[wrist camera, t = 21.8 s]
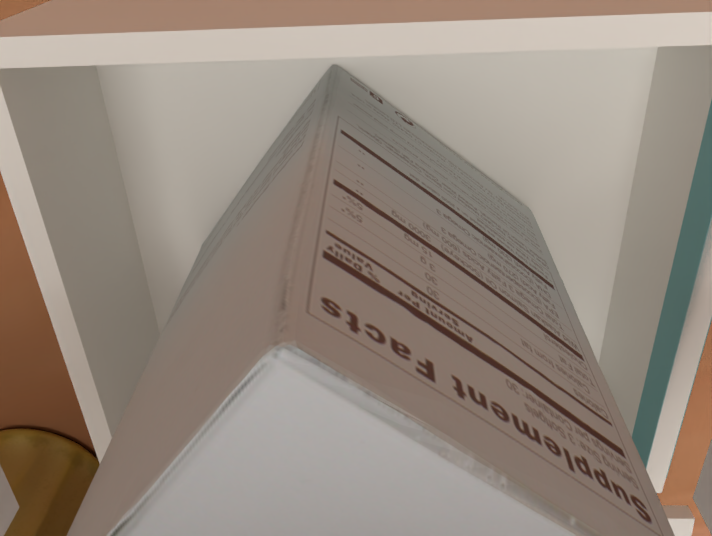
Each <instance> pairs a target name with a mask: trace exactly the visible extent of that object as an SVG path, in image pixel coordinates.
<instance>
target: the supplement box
mask: <svg viewBox="0 0 712 536" xmlns="http://www.w3.org/2000/svg"><path fill="white" fill-rule="evenodd" d="M67 536H675V535H674V533H673V530H672V528H671V526H670V523H669V521H668V519H667V516H666V514H665V512H664V509H663V507H662V505H661V503H660V500H659V498H658V496H657V494H656V491H655V489H654V487H653V484H652V482H651V480H650V477H649V475H648V473H647V471H646V468H645V466H644V464H643V461H642V459H641V457H640V455H639V453H638V451H637V448H636V446H635V444H634V442H633V440H632V437H631V435H630V433H629V431H628V428H627V426H626V424H625V422H624V419H623V417H622V415H621V413H620V411H619V408H618V406H617V404H616V402H615V400H614V397H613V395H612V393H611V391H610V388H609V386H608V384H607V382H606V379H605V377H604V375H603V373H602V371H601V369H600V367H599V365H598V362H597V360H596V357H595V355H594V353H593V350H592V348H591V345H590V343H589V341H588V338H587V336H586V334H585V332H584V330H583V328H582V325H581V323H580V321H579V318H578V316H577V314H576V311H575V309H574V306H573V304H572V302H571V299H570V297H569V295H568V293H567V290H566V288H565V286H564V283H563V280H562V279H561V277H560V275H559V272H558V270H557V268H556V265H555V263H554V261H553V258H552V256H551V254H550V251H549V249H548V247H547V244H546V242H545V240H544V237H543V235H542V233H541V230H540V228H539V226H538V224H537V221H536V219H535V217H534V215H533V213H532V211H531V210H530V209H529V208H528V207H527V206H525V205H524V204H522V203H521V202H519V201H518V200H517V199H515V198H514V197H513V196H511V195H510V194H509V193H507V192H506V191H504V190H503V189H502V188H500V187H499V186H498V185H496V184H495V183H494V182H492V181H491V180H490V179H488V178H487V177H486V176H484V175H483V174H482V173H480V172H479V171H478V170H476V169H475V168H474V167H472V166H471V165H470V164H468V163H467V162H466V161H464V160H463V159H462V158H460V157H459V156H458V155H456V154H455V153H454V152H452V151H451V150H450V149H449V148H447V147H446V146H445V145H443V144H442V143H440V142H439V141H438V140H436V139H435V138H434V137H433V136H431V135H430V134H429V133H427V132H426V131H425V130H423V129H422V128H421V127H419V126H418V125H417V124H415V123H414V122H413V121H411V120H410V119H409V118H407V117H406V116H405V115H404V114H402V113H401V112H399V111H398V110H397V109H396V108H394V107H393V106H392V105H390V104H389V103H387V102H386V101H385V100H383V99H382V98H381V97H380V96H378V95H377V94H375V93H374V92H372V91H371V90H370V89H368V88H367V87H366V86H365V85H363V84H362V83H361V82H359V81H358V80H357V79H356V78H354V77H353V76H352V75H350V74H349V73H348V72H346V71H345V70H344V69H342V68H341V67H339V66H338V65H331V66H330V68H329V69H328V70H327V71H326V72H325V74H324V75H323V76H322V78H321V79H320V80H319V81H318V83H317V84H316V85H315V87H314V88H313V89H312V91H311V92H310V93H309V95H308V96H307V97H306V99H305V100H304V101H303V103H302V104H301V105H300V107H299V108H298V109H297V111H296V112H295V114H294V115H293V116H292V118H291V119H290V121H289V122H288V123H287V125H286V126H285V127H284V129H283V130H282V132H281V133H280V134H279V136H278V137H277V138H276V140H275V141H274V143H273V144H272V145H271V147H270V148H269V150H268V151H267V152H266V154H265V155H264V156H263V158H262V159H261V161H260V162H259V163H258V165H257V166H256V167H255V169H254V170H253V172H252V173H251V175H250V176H249V178H248V179H247V180H246V182H245V183H244V185H243V186H242V188H241V189H240V191H239V192H238V194H237V195H236V196H235V198H234V199H233V201H232V202H231V204H230V205H229V206H228V208H227V209H226V211H225V212H224V214H223V215H222V217H221V218H220V219H219V221H218V222H217V224H216V225H215V227H214V228H213V230H212V231H211V233H210V234H209V235H208V237H207V238H206V240H205V241H204V242H203V244H202V246H201V249H200V251H199V253H198V256H197V258H196V260H195V262H194V264H193V266H192V269H191V271H190V273H189V275H188V277H187V279H186V281H185V283H184V285H183V287H182V290H181V292H180V294H179V297H178V299H177V301H176V303H175V305H174V307H173V309H172V312H171V314H170V316H169V318H168V320H167V322H166V324H165V326H164V329H163V331H162V333H161V335H160V337H159V339H158V341H157V343H156V345H155V347H154V350H153V352H152V354H151V356H150V358H149V361H148V363H147V365H146V367H145V369H144V371H143V373H142V375H141V378H140V380H139V382H138V384H137V386H136V388H135V390H134V392H133V395H132V397H131V399H130V401H129V403H128V405H127V408H126V410H125V412H124V414H123V416H122V418H121V421H120V423H119V425H118V427H117V429H116V431H115V433H114V435H113V437H112V439H111V441H110V444H109V446H108V448H107V450H106V452H105V454H104V457H103V459H102V461H101V463H100V465H99V467H98V470H97V472H96V474H95V476H94V478H93V480H92V482H91V484H90V487H89V489H88V491H87V493H86V495H85V497H84V499H83V501H82V504H81V506H80V508H79V510H78V512H77V514H76V517H75V519H74V521H73V523H72V525H71V527H70V529H69V532H68V534H67Z"/></svg>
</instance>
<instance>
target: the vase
mask: <svg viewBox="0 0 712 536" xmlns="http://www.w3.org/2000/svg"><path fill="white" fill-rule="evenodd" d="M0 465H1V467H2V469H3V472H4V474H5V476H6V478H7V480H8V483H9V485H10V487H11V489H12V492H13V494H14V496H15V498H16V500H17V503H18V505H19V509H18V511H17V513H16V514H15V516H14V518H13V520H12V522H11V524H10V525H9V527H8V529H7V531H6V533H5V535H4V536H67V534H68V532H69V529H70V527H71V525H72V523H73V521H74V519H75V517H76V514H77V512H78V510H79V508H80V506H81V504H82V501H83V499H84V497H85V495H86V493H87V491H88V489H89V487H90V484H91V482H92V480H93V478H94V476H95V474H96V472H97V470H98V467H99V465H100V464H99V461H98V459H97V458H95V457H94V456H93V455H92V454H91V453H90V452H89V451H87V450H86V449H85V448H83V447H82V446H80V445H79V444H77V443H75V442H73V441H71V440H69V439H66V438H64V437H62V436H59V435H56V434H53V433H50V432H46V431H41V430H34V429H8V430H2V431H0Z"/></svg>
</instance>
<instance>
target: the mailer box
mask: <svg viewBox="0 0 712 536" xmlns="http://www.w3.org/2000/svg"><path fill="white" fill-rule="evenodd" d="M331 65H338V66H339V67H341V68H342V69H344V70H345V71H346V72H348V73H349V74H350V75H352V76H353V77H354V78H356V79H357V80H358V81H359V82H361V83H362V84H363V85H365V86H366V87H367V88H368V89H370V90H371V91H372V92H374V93H375V94H377V95H378V96H380V97H381V98H382V99H383V100H385V101H386V102H387V103H389V104H390V105H392V106H393V107H394V108H396V109H397V110H398V111H399V112H401V113H402V114H404V115H405V116H406V117H407V118H409V119H410V120H411V121H413V122H414V123H415V124H417V125H418V126H419V127H421V128H422V129H423V130H425V131H426V132H427V133H429V134H430V135H431V136H433V137H434V138H435V139H436V140H438V141H439V142H440V143H442V144H443V145H445V146H446V147H447V148H449V149H450V150H451V151H452V152H454V153H455V154H456V155H458V156H459V157H460V158H462V159H463V160H464V161H466V162H467V163H468V164H470V165H471V166H472V167H474V168H475V169H476V170H478V171H479V172H480V173H482V174H483V175H484V176H486V177H487V178H488V179H490V180H491V181H492V182H494V183H495V184H496V185H498V186H499V187H500V188H502V189H503V190H504V191H506V192H507V193H509V194H510V195H511V196H513V197H514V198H515V199H517V200H518V201H519V202H521V203H522V204H524V205H525V206H527V207H528V208H529V209H530V210H531V211H532V213H533V215H534V217H535V219H536V221H537V224H538V226H539V228H540V230H541V233H542V235H543V237H544V240H545V242H546V244H547V247H548V249H549V251H550V254H551V256H552V258H553V261H554V263H555V265H556V268H557V270H558V272H559V275H560V277H561V279H562V280H563V283H564V286H565V288H566V290H567V293H568V295H569V297H570V299H571V302H572V304H573V306H574V309H575V311H576V314H577V316H578V318H579V321H580V323H581V325H582V328H583V330H584V332H585V334H586V336H587V338H588V341H589V343H590V345H591V348H592V350H593V353H594V355H595V357H596V360H597V362H598V365H599V367H600V369H601V371H602V373H603V375H604V377H605V379H606V382H607V384H608V386H609V388H610V391H611V393H612V395H613V397H614V400H615V402H616V404H617V406H618V408H619V411H620V413H621V415H622V417H623V419H624V422H625V424H626V426H627V428H628V431H629V433H630V435H631V437H632V440H633V442H634V444H635V446H636V448H637V451H638V453H639V455H640V457H641V459H642V461H643V464H644V466H645V468H646V471H647V473H648V475H649V477H650V480H651V482H652V484H653V487H654V489H655V491H656V493H662V490H663V486H664V482H665V479H666V478H667V475H668V471H669V468H670V464H671V461H672V457H673V454H674V450H675V447H676V443H677V440H678V436H679V433H680V429H681V426H682V422H683V419H684V415H685V412H686V408H687V405H688V401H689V398H690V394H691V391H692V387H693V384H694V380H695V377H696V373H697V370H698V366H699V363H700V359H701V356H702V352H703V349H704V345H705V342H706V338H707V335H708V331H709V328H710V324H711V321H712V0H51V1H48V2H46V3H43V4H41V5H38V6H36V7H33V8H31V9H28V10H26V11H23V12H21V13H18V14H16V15H13V16H11V17H8V18H6V19H3V20H1V21H0V171H1V174H2V177H3V180H4V183H5V186H6V189H7V192H8V195H9V198H10V201H11V204H12V207H13V210H14V213H15V216H16V219H17V222H18V225H19V228H20V230H21V233H22V236H23V239H24V242H25V245H26V248H27V251H28V254H29V257H30V260H31V263H32V266H33V269H34V272H35V275H36V278H37V281H38V284H39V287H40V290H41V292H42V295H43V298H44V301H45V304H46V307H47V310H48V313H49V316H50V319H51V322H52V325H53V328H54V331H55V334H56V337H57V340H58V343H59V346H60V349H61V351H62V354H63V357H64V360H65V363H66V366H67V369H68V372H69V375H70V378H71V381H72V384H73V387H74V390H75V393H76V396H77V399H78V402H79V405H80V408H81V410H82V413H83V416H84V419H85V422H86V425H87V428H88V431H89V434H90V437H91V440H92V443H93V446H94V449H95V452H96V455H97V458H98V461H99V464H100V463H101V461H102V459H103V457H104V454H105V452H106V450H107V448H108V446H109V444H110V441H111V439H112V437H113V435H114V433H115V431H116V429H117V427H118V425H119V423H120V421H121V418H122V416H123V414H124V412H125V410H126V408H127V405H128V403H129V401H130V399H131V397H132V395H133V392H134V390H135V388H136V386H137V384H138V382H139V380H140V378H141V375H142V373H143V371H144V369H145V367H146V365H147V363H148V361H149V358H150V356H151V354H152V352H153V350H154V347H155V345H156V343H157V341H158V339H159V337H160V335H161V333H162V331H163V329H164V326H165V324H166V322H167V320H168V318H169V316H170V314H171V312H172V309H173V307H174V305H175V303H176V301H177V299H178V297H179V294H180V292H181V290H182V287H183V285H184V283H185V281H186V279H187V277H188V275H189V273H190V271H191V269H192V266H193V264H194V262H195V260H196V258H197V256H198V253H199V251H200V249H201V246H202V244H203V242H204V241H205V240H206V238H207V237H208V235H209V234H210V233H211V231H212V230H213V228H214V227H215V225H216V224H217V222H218V221H219V219H220V218H221V217H222V215H223V214H224V212H225V211H226V209H227V208H228V206H229V205H230V204H231V202H232V201H233V199H234V198H235V196H236V195H237V194H238V192H239V191H240V189H241V188H242V186H243V185H244V183H245V182H246V180H247V179H248V178H249V176H250V175H251V173H252V172H253V170H254V169H255V167H256V166H257V165H258V163H259V162H260V161H261V159H262V158H263V156H264V155H265V154H266V152H267V151H268V150H269V148H270V147H271V145H272V144H273V143H274V141H275V140H276V138H277V137H278V136H279V134H280V133H281V132H282V130H283V129H284V127H285V126H286V125H287V123H288V122H289V121H290V119H291V118H292V116H293V115H294V114H295V112H296V111H297V109H298V108H299V107H300V105H301V104H302V103H303V101H304V100H305V99H306V97H307V96H308V95H309V93H310V92H311V91H312V89H313V88H314V87H315V85H316V84H317V83H318V81H319V80H320V79H321V78H322V76H323V75H324V74H325V72H326V71H327V70H328V69H329V68H330V66H331Z"/></svg>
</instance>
